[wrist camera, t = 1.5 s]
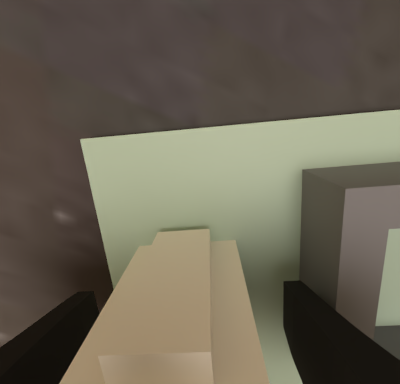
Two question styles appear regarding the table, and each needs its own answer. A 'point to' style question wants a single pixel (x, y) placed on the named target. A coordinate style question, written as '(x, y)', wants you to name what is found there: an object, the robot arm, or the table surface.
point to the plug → (175, 319)
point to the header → (269, 212)
